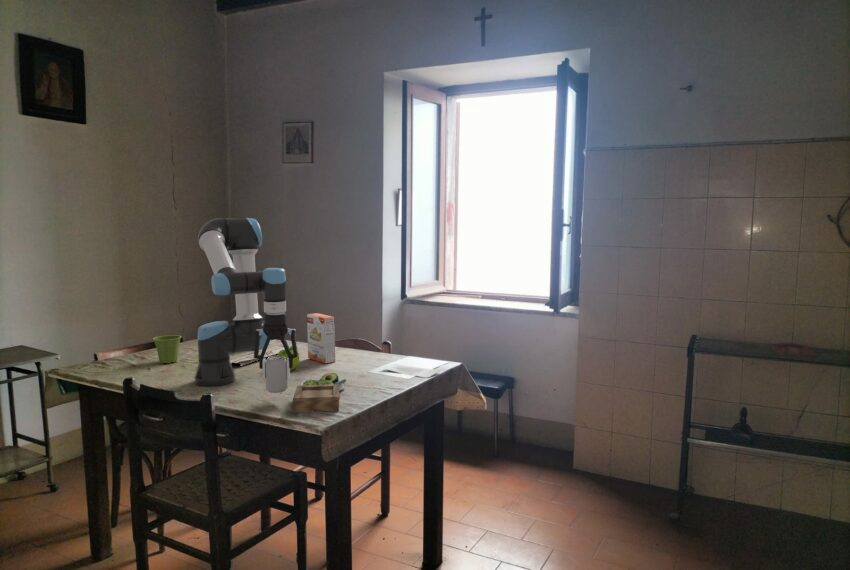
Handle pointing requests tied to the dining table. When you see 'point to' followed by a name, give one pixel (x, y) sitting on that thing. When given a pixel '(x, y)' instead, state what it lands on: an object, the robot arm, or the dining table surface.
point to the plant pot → (167, 348)
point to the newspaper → (250, 358)
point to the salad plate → (326, 381)
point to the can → (276, 374)
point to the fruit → (283, 353)
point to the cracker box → (321, 337)
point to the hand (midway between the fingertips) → (276, 377)
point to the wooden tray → (316, 398)
